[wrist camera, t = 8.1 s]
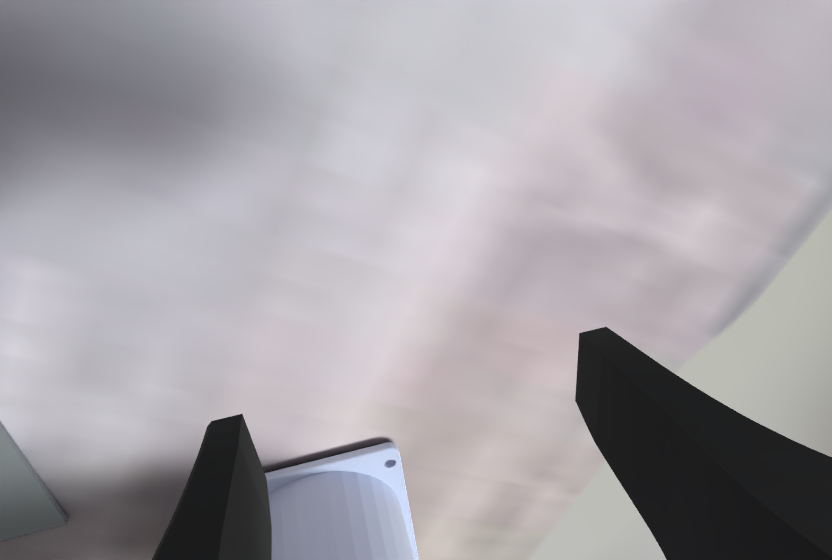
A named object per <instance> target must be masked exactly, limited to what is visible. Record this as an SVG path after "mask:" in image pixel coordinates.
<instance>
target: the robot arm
mask: <svg viewBox="0 0 832 560" xmlns="http://www.w3.org/2000/svg"><path fill="white" fill-rule="evenodd" d="M575 401H576V403H577V405H578V407H579V409H580V412H581V414H582V416H583V418H584V420H585V423H586V425H587V427H588V429H589V431H590V433H591V435H592V437H593V439H594V441H595V443H596V445H597V446H598V448H599V450H600V451H601V453H602V454H603V456H604V458H605V459H606V461H607V462H608V464H609V466H610V467H611V469H612V470H613V472H614V473H615V475H616V477H617V478H618V480H619V481H620V483H621V484H622V486H623V488H624V489H625V491H626V492H627V494H628V495H629V497H630V499H631V500H632V502H633V503H634V505H635V507H636V508H637V510H638V511H639V513H640V514H641V516H642V518H643V519H644V521H645V522H646V524H647V526H648V527H649V529H650V530H651V532H652V534H653V535H654V537H655V539H656V541H657V542H658V544H659V546H660V547H661V549H662V551H663V553H664V555H665V557H666V559H667V560H832V457H829V456H827V455H825V454H822V453H819V452H817V451H815V450H813V449H810V448H808V447H806V446H804V445H802V444H799V443H797V442H795V441H793V440H791V439H789V438H786V437H785V436H783V435H781V434H778V433H776V432H774V431H772V430H770V429H768V428H766V427H764V426H762V425H760V424H758V423H756V422H754V421H753V420H751V419H749V418H747V417H745V416H743V415H741V414H740V413H738V412H736V411H734V410H733V409H731V408H729V407H728V406H726V405H724V404H722V403H720V402H719V401H717V400H715V399H714V398H712V397H710V396H708V395H707V394H705V393H704V392H702V391H700V390H699V389H697V388H696V387H694V386H692V385H691V384H689V383H688V382H686V381H685V380H683V379H682V378H680V377H679V376H677V375H675V374H674V373H672V372H671V371H669V370H668V369H666V368H665V367H663V366H662V365H660V364H659V363H658V362H656V361H655V360H653V359H652V358H650V357H649V356H647V355H646V354H644V353H643V352H642V351H640V350H639V349H637V348H636V347H634V346H633V345H632V344H630V343H629V342H627V341H626V340H624V339H623V338H622V337H620V336H619V335H617V334H616V333H614V332H613V331H611V330H610V329H608V328H607V327H604V328H600V329H595V330H591V331H587V332H583V333H580V334H579V350H578V367H577V383H576V400H575ZM388 460H390V461H388ZM152 560H419V558H418V553H417V547H416V541H415V536H414V530H413V525H412V519H411V514H410V508H409V502H408V497H407V491H406V486H405V480H404V475H403V469H402V463H401V458H400V452H399V449H398V446H397V445H396V444H395V443H391V442H388V443H383V444H379V445H375V446H371V447H367V448H363V449H359V450H355V451H351V452H347V453H343V454H339V455H335V456H331V457H327V458H323V459H319V460H315V461H311V462H307V463H304V464H300V465H296V466H292V467H288V468H284V469H280V470H276V471H272V472H268V473H264V471H263V468H262V465H261V463H260V460H259V457H258V455H257V452H256V449H255V447H254V444H253V441H252V439H251V436H250V433H249V431H248V428H247V426H246V423H245V420H244V418H243V415H242V414H240V415H236V416H232V417H227V418H223V419H219V420H215V421H211V423H210V424H209V425H208V427H207V430H206V433H205V436H204V439H203V442H202V445H201V448H200V450H199V453H198V456H197V459H196V461H195V464H194V467H193V469H192V472H191V474H190V477H189V479H188V482H187V485H186V487H185V489H184V492H183V494H182V496H181V498H180V501H179V503H178V505H177V508H176V510H175V512H174V515H173V517H172V519H171V521H170V524H169V526H168V528H167V530H166V532H165V534H164V536H163V538H162V540H161V542H160V544H159V546H158V548H157V550H156V552H155V554H154V556H153V558H152Z"/></svg>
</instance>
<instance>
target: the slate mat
mask: <svg viewBox="0 0 832 560" xmlns="http://www.w3.org/2000/svg"><path fill="white" fill-rule="evenodd" d="M67 521H68V517H67V516H66V514H65V513H64V511H63V510H62V509H61V507H60V506H59V504H58V503H57V501H56V500H55V499H54V497H53V496H52V494H51V493H50V492H49V490H48V489H47V487H46V486H45V484H44V483H43V482H42V480H41V479H40V477H39V476H38V474H37V473H36V472H35V470H34V469H33V467H32V466H31V465H30V463H29V462H28V460H27V459H26V457H25V456H24V455H23V453H22V452H21V450H20V449H19V448H18V446H17V445H16V443H15V442H14V440H13V439H12V438H11V436H10V435H9V433H8V432H7V430H6V429H5V428H4V426H3V425H2V423H1V422H0V541H2V540H6V539H10V538H14V537H18V536H22V535H26V534H30V533H34V532H38V531H42V530H46V529H50V528H54V527H58V526H62V525H66V524H67Z"/></svg>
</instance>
